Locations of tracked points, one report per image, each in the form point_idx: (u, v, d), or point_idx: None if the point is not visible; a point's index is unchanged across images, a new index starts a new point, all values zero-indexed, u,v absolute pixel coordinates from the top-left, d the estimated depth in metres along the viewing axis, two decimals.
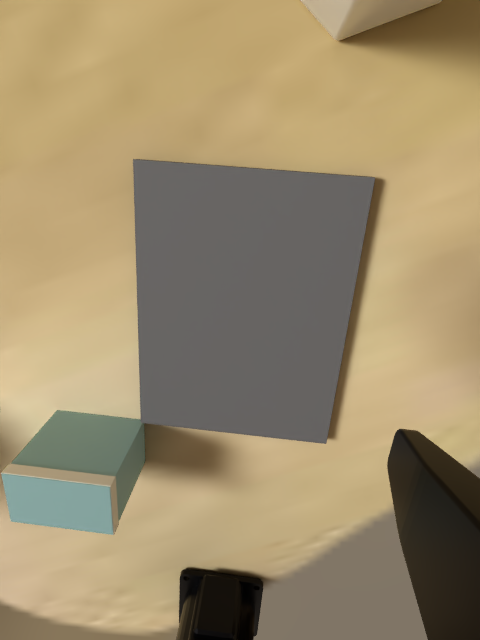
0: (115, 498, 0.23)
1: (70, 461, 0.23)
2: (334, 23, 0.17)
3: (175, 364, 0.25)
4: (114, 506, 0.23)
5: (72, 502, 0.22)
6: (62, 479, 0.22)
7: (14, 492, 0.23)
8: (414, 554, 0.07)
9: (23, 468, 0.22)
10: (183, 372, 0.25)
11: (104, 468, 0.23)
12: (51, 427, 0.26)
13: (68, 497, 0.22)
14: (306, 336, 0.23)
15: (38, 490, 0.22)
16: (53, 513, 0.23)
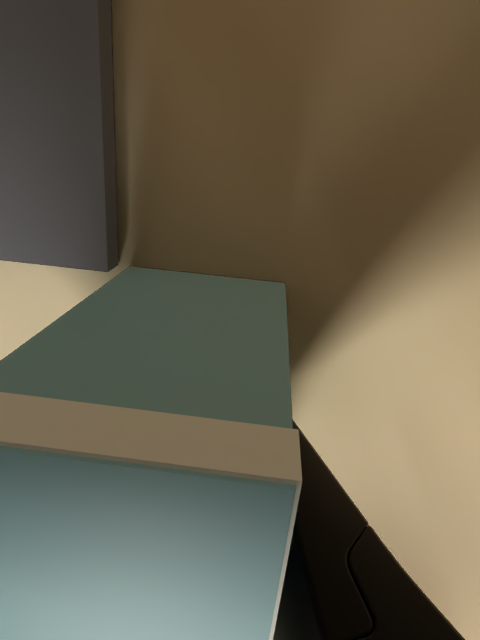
0: (73, 414, 0.04)
1: None
2: None
3: None
4: (103, 431, 0.04)
5: (72, 619, 0.04)
6: None
7: None
8: None
9: None
10: None
11: None
12: None
13: (44, 626, 0.04)
14: None
15: None
16: None
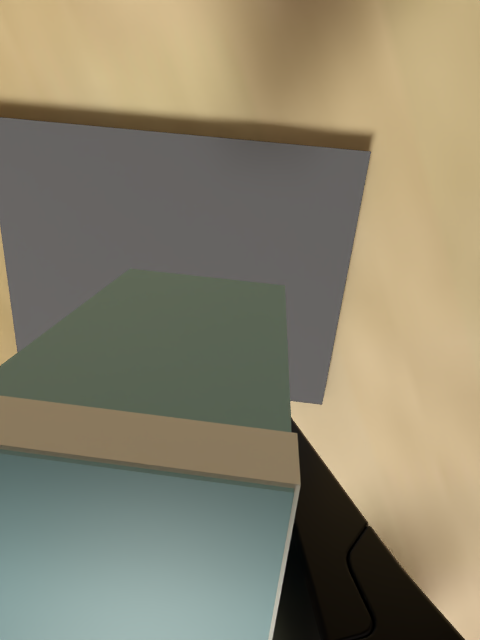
0: (75, 418, 0.04)
1: None
2: None
3: None
4: (104, 435, 0.04)
5: (73, 620, 0.04)
6: None
7: None
8: None
9: None
10: None
11: None
12: None
13: (45, 627, 0.04)
14: (188, 190, 0.17)
15: None
16: None
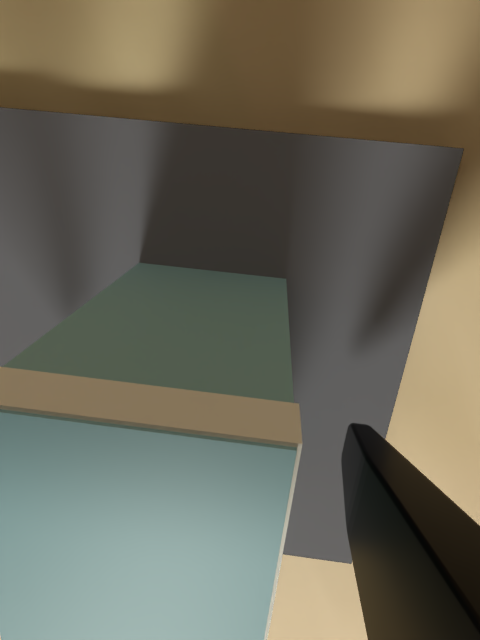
0: (101, 389, 0.05)
1: None
2: None
3: None
4: (128, 403, 0.04)
5: (98, 573, 0.05)
6: None
7: None
8: (357, 546, 0.07)
9: None
10: None
11: None
12: None
13: (72, 580, 0.05)
14: (113, 223, 0.09)
15: None
16: None
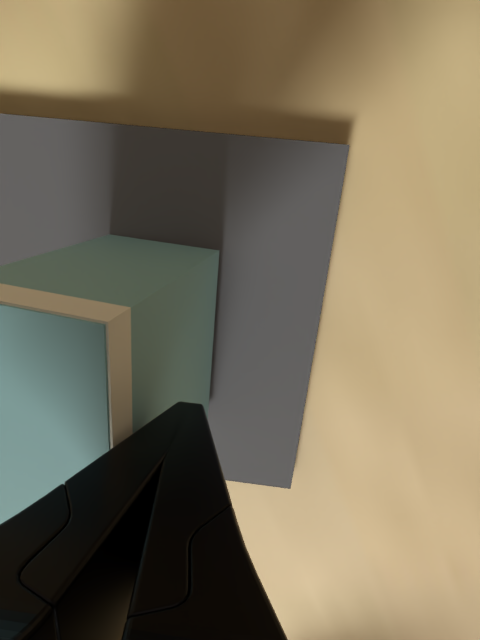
0: (10, 290, 0.07)
1: None
2: None
3: None
4: (20, 296, 0.07)
5: (7, 413, 0.07)
6: None
7: None
8: None
9: None
10: None
11: None
12: None
13: None
14: (88, 203, 0.12)
15: None
16: (60, 477, 0.08)
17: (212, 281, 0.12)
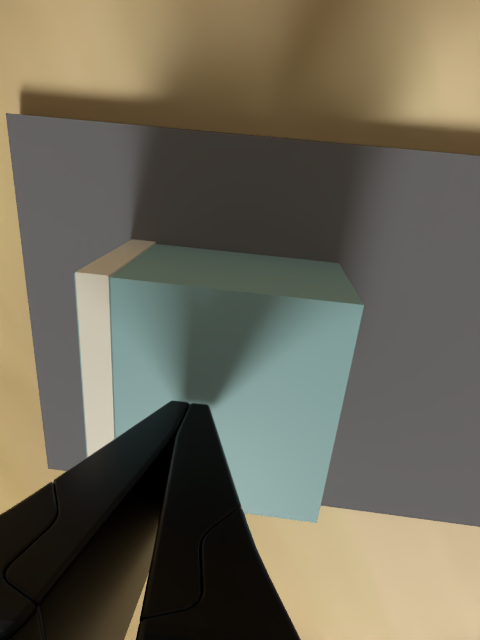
0: (133, 251, 0.10)
1: None
2: None
3: (366, 460, 0.14)
4: (120, 253, 0.10)
5: None
6: None
7: None
8: None
9: None
10: (383, 450, 0.14)
11: None
12: None
13: None
14: (322, 229, 0.11)
15: None
16: None
17: (331, 338, 0.09)
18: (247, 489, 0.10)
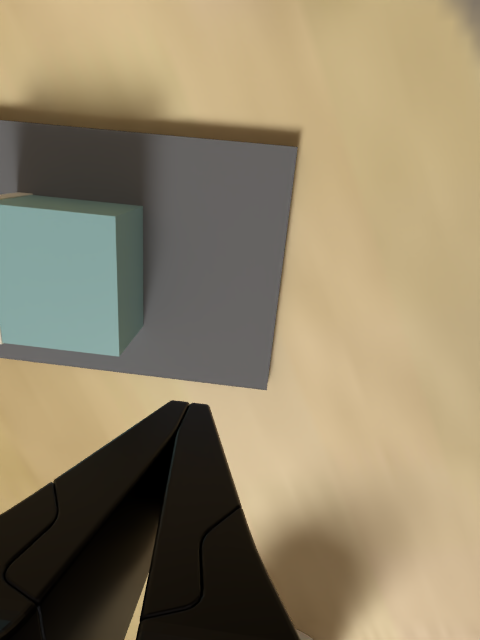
0: (10, 195, 0.18)
1: None
2: None
3: (183, 342, 0.21)
4: (0, 196, 0.17)
5: None
6: None
7: None
8: None
9: None
10: (192, 334, 0.21)
11: None
12: None
13: None
14: (129, 184, 0.18)
15: None
16: None
17: (102, 236, 0.16)
18: (75, 334, 0.17)
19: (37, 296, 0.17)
